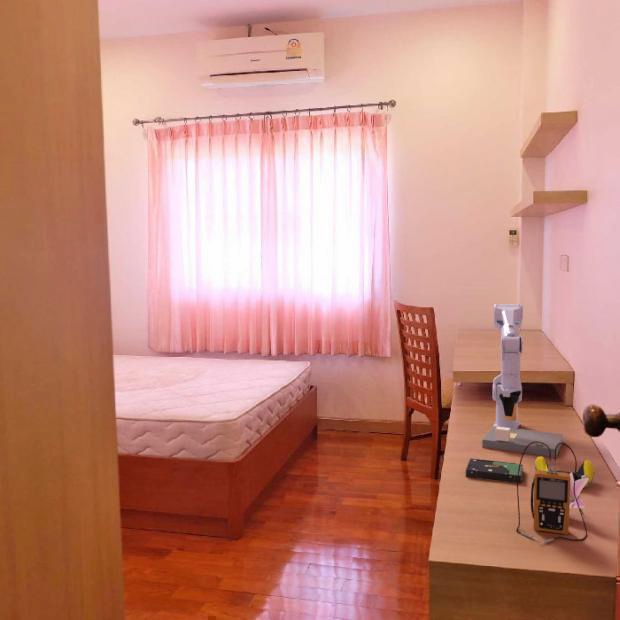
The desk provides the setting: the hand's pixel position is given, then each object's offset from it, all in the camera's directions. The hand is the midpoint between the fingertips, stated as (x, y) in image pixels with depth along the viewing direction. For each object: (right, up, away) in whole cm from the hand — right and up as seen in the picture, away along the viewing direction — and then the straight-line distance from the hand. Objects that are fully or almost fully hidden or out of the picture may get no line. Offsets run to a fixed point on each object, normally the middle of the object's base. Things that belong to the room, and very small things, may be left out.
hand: (509, 414), depth 199 cm
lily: (-5, -15, -55) cm, 58 cm away
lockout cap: (0, -1, 0) cm, 1 cm away
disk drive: (-13, -13, -28) cm, 33 cm away
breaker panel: (+4, -10, -1) cm, 10 cm away
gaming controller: (+4, -13, -34) cm, 37 cm away
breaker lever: (-4, -8, -5) cm, 10 cm away
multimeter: (-13, -16, -67) cm, 70 cm away
